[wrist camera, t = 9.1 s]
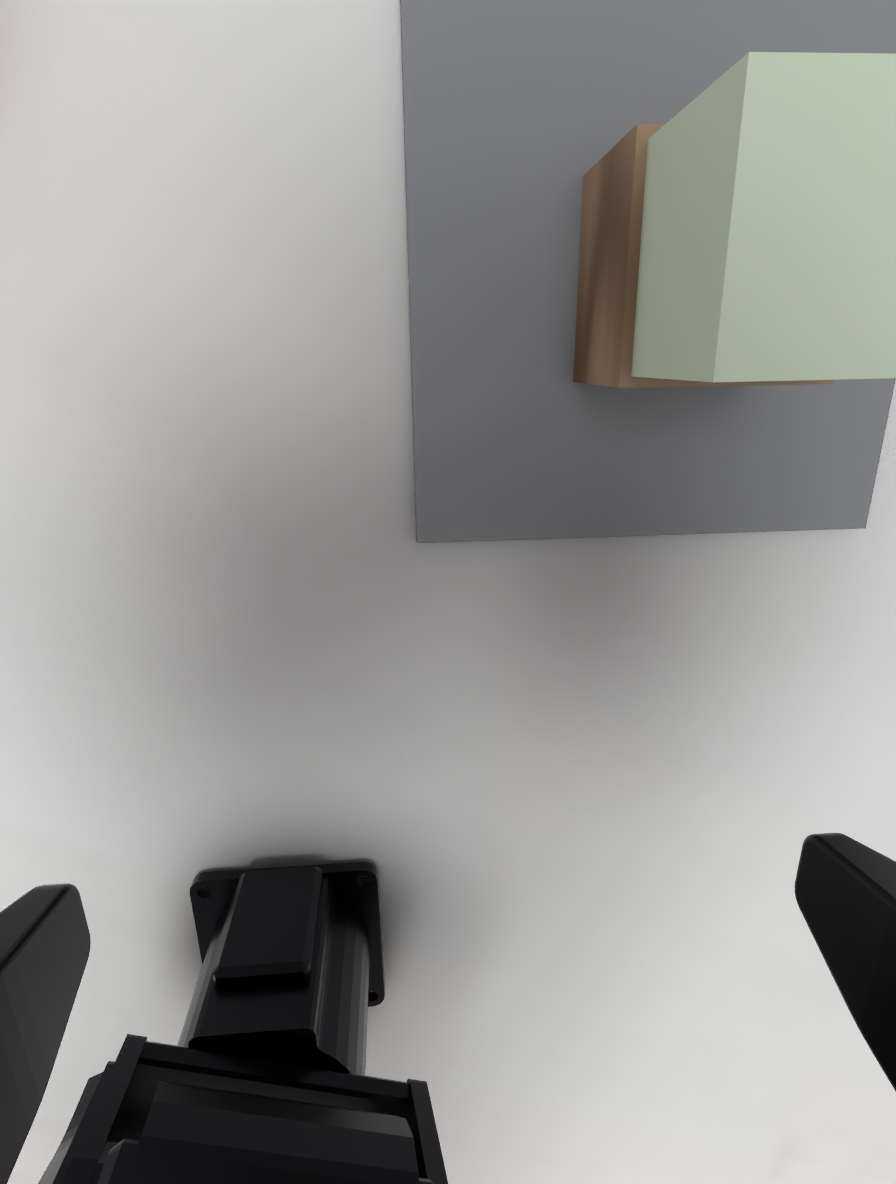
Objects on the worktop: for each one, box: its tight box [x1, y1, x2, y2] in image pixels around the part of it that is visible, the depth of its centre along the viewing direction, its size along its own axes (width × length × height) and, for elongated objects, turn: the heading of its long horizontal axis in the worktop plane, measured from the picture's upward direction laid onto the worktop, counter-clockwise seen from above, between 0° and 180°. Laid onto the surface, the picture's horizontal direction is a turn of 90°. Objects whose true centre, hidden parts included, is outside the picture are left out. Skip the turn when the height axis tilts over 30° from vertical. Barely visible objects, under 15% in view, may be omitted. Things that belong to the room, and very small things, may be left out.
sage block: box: [631, 52, 896, 382], centre depth 12 cm, size 4×4×4 cm
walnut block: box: [573, 124, 834, 388], centre depth 16 cm, size 5×5×4 cm
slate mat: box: [400, 0, 896, 543], centre depth 18 cm, size 14×14×1 cm
